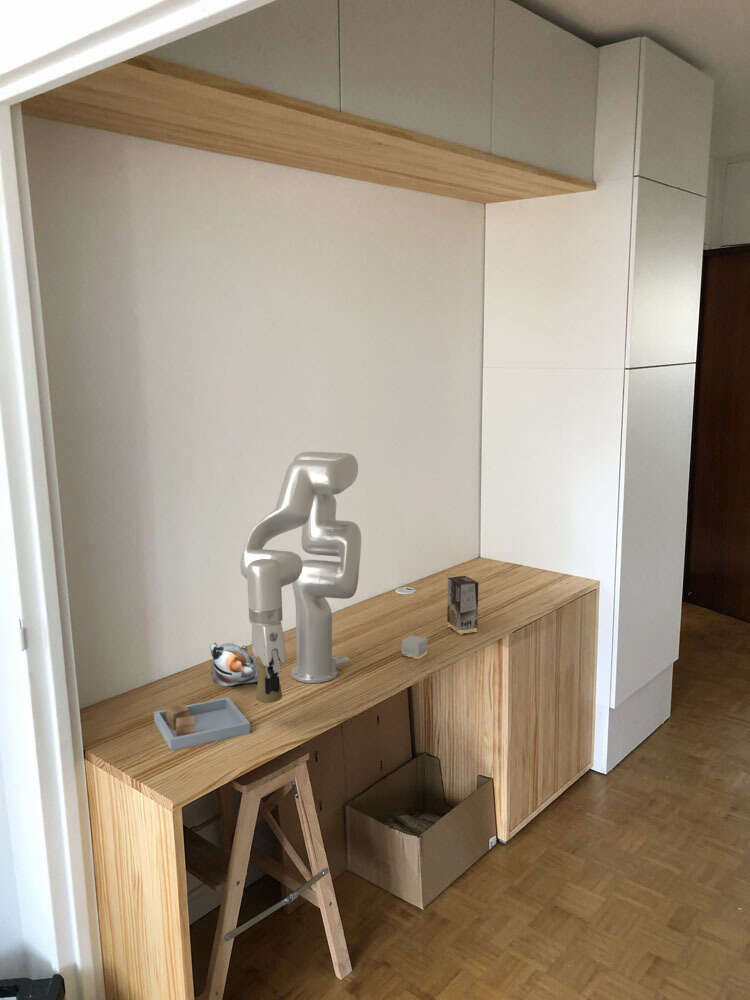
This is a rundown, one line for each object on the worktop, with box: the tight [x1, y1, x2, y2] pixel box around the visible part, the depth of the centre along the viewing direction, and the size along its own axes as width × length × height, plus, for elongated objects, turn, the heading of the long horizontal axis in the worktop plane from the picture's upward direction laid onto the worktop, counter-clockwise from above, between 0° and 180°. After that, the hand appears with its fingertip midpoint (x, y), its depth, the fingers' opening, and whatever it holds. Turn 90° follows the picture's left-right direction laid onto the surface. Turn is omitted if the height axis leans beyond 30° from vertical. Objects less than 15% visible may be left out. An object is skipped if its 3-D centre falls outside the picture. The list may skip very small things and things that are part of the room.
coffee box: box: [446, 575, 480, 630], centre depth 257 cm, size 9×6×16 cm
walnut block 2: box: [176, 716, 195, 737], centre depth 186 cm, size 4×4×4 cm
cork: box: [255, 656, 283, 704], centre depth 191 cm, size 6×6×11 cm
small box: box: [401, 635, 429, 657], centre depth 237 cm, size 6×6×5 cm
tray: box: [153, 696, 251, 752], centre depth 191 cm, size 18×16×3 cm
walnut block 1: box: [165, 703, 190, 730], centre depth 192 cm, size 4×4×4 cm
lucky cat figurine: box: [209, 642, 259, 687], centre depth 216 cm, size 15×12×14 cm
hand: (268, 687), depth 192 cm, fingers closed on cork, 3 cm apart
